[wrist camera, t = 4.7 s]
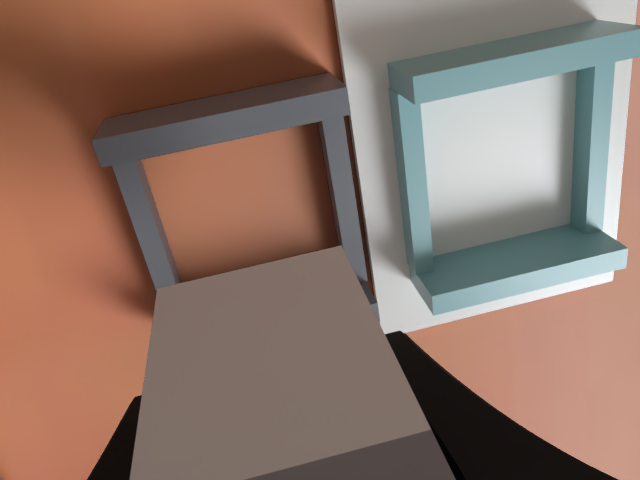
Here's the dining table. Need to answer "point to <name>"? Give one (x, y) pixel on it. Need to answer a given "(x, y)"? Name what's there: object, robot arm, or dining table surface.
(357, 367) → the plug
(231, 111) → the grey arch stand
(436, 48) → the port
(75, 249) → the dining table surface
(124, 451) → the robot arm
